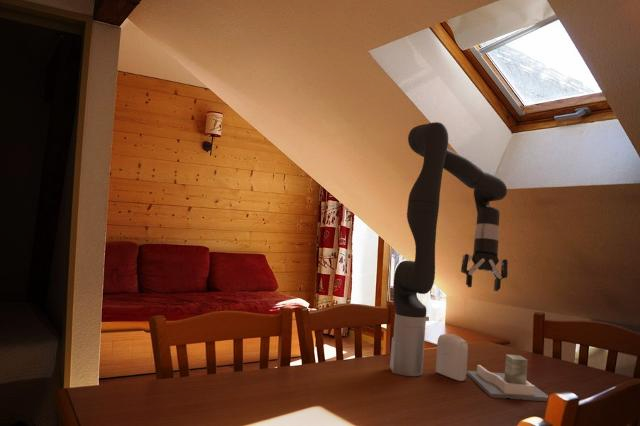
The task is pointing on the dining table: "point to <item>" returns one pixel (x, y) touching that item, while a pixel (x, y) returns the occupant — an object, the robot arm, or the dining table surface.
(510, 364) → the sage hanger block
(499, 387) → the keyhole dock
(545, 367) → the dining table surface
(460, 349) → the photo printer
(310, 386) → the dining table surface
